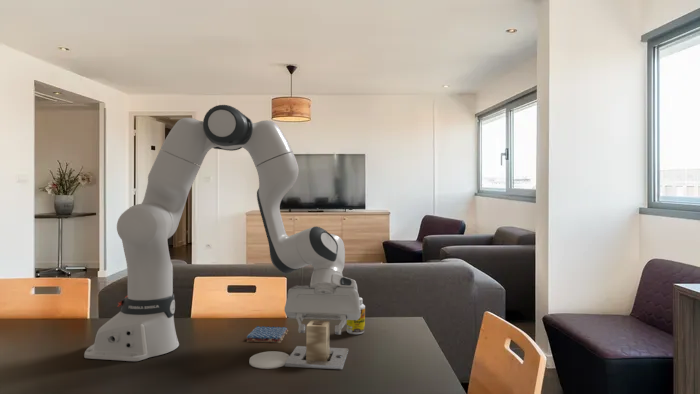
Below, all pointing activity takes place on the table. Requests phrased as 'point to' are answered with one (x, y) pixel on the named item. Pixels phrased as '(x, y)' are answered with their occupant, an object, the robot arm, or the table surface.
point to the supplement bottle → (357, 322)
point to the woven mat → (267, 334)
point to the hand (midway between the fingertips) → (319, 332)
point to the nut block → (317, 340)
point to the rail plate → (335, 362)
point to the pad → (268, 360)
